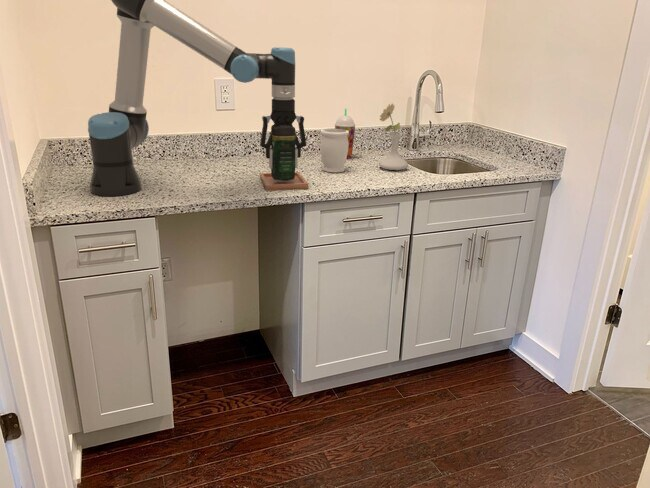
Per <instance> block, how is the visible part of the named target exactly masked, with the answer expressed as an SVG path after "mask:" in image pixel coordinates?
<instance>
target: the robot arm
mask: <svg viewBox="0 0 650 488" xmlns="http://www.w3.org/2000/svg"><path fill="white" fill-rule="evenodd" d="M110 1H111V3H113V5H114V6H115V7H116V8H117V9H116V17H117V18H118V19H119V21H120V23H121V24H120V25H121V26H120V34H119V35H120V36H119V48H118V59H117V69H116V70H117V71H116V82H115V92H114V93H115V95H114V100H113V101H112V102H110V104H109V105H108V112H102V113H97V114H94V115H91V116H90V118H89V119H88V121H87V132H88V137H89V142H90V143H89V144H90V150H91V157H92V158H91V159H92V166H93V169H92V175H91V179H90V183H89V188H90V192H91V193H92V194H93V195H96V196H104V197H117V196H118V197H119V196H126V195H131V194H134V193H138V192H140V191H141V190H142V182H141V179H140V177H139V174H138V173H137V170H136V168H135V166H134V160H133V152H132V149H134V148H137V147H138V146H140V145H142V144H143V142H145V140H146V138H147V137H148V135H149V129H150V128H149V127H150V126H149V122H148V120H147V113H148V110H147V109H146V108H145V107H144V96H145V86H146V85H145V84H146V78H147V77H146V76H147V67H148V58H149V48H150V39H151V29H152V28H154V27H156V28H157V29H159V30H160V31H162V32H164V33H165V34H167V35H169V36H170V37H172V38H173V39H175V40H177V41H178V42H180V43H182V44H183V45H185V46H186V47H187V48H189V49H191V50H192V51H194V52H196V53H198V54H199V55H200V56H202V57H203V58H205V59H207V60H208V61H210V62H211V63H213V64H215V65H217V67H219V68H221V69H223V70H224V71H226V72H227V73H229V74H230V75H232V77H233V78H234V79H235V80H236V81H237V82H239V83H246V84H247V83H251V82H253V81H254V80H255V79H265V80H267V79H268V80H269V79H270V80H271V97H272V99H271V113H270V115H267V116H265V115H262V117H261V119H262V122H263V123H262V130H261V135H260V142H259V144H260V145H259V146H260V147H261V148H264V149H265V157H266V159H268V168H269V169H272V148H271V144H272V135H273V134H272V132H271V131H270V134H269V136H268V138H267V132H268V126H269V123H270V121H272V122H273V124H272V125H273V126H275V127H277V126H279V125H280V124H287V125H289V126H292V127H294V126H293V123H294V122H295V120H296V122H297V123H298V124H297V125H298V131H299V136H300V140H299V138H298V136H297V134H296V132H295V134H296V139H295V169H298V165H299V163H298V160H299V158H301V154H302V153H301V151H302V150H301V149H302V148H303V147H306V146H307V140H306V132H305V127H304V122H305V117H304V116H302V115H297V114H296V113H295V112H296V111H295V110H296V100H295V99H294V98H295V97H296V52H295V49H294V48H292V47H278V46H277V47H272V48H271V49H270V53H250V52H245V50H242V49H240V48H239V47H237V46H236V45H234V43H232V42H230V41H228V40H227V39H225V38H223V36H221V35H219V34H217V33H216V32H214V31H213V30H211V29H210V28H208V27H207V26H205V25H204V24H202V23H200V22H199V21H197V20H196V19H194V18H193V17H191V16H190V15H188V14H187V13H185V12H184V11H182V10H180V9H179V8H177V7H176V6H175V5H173V4H171V3H170V2H168V1H166V0H110ZM266 138H267V139H266ZM266 140H267V141H266Z"/></svg>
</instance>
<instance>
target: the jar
mask: <svg viewBox="0 0 650 488" xmlns="http://www.w3.org/2000/svg"><path fill="white" fill-rule="evenodd" d="M320 134H321V137H320V143H319V144H320V145H319V146H320V147H319V148H320V150H319V152H320V156H321V157H320V158H321V162H322V164H323V166H322V171H324V172H327V173H331V174H332V173H333V174H335V173H336V174H337V173H343V172H344V171H345V167H344V166H345V164H346V162H347V160H348V159H347V154H348V137H347V135H348V134H349V131H347V130H343V129H335V128H323V129H320Z"/></svg>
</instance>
